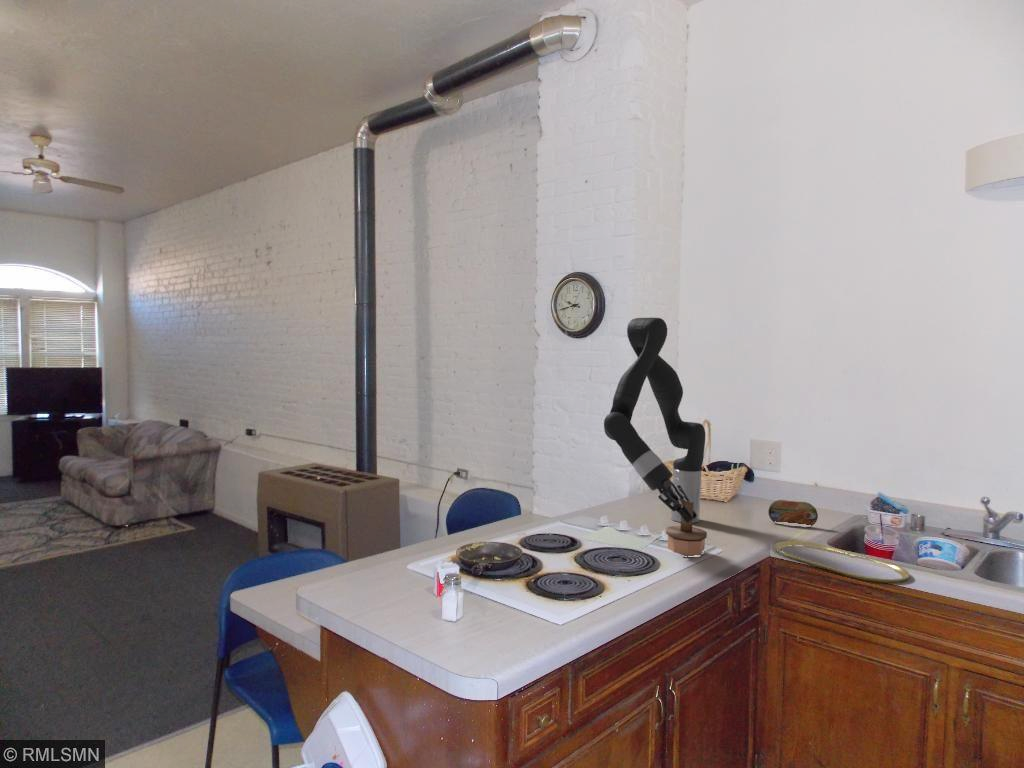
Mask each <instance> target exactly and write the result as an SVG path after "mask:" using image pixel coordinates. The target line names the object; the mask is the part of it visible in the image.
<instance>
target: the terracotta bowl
mask: <svg viewBox="0 0 1024 768" xmlns="http://www.w3.org/2000/svg"><path fill="white" fill-rule="evenodd" d="M705 545H706V538H705V539H702V540H685V539H678V538H674V537H671V536H669V535H667V549H669V550H670V551H672V552H673V553H677V554H682V555H684V556H687V557H688V556H694V555H701V553H702V551H703V550H704V549H705Z"/></svg>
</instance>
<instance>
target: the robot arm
mask: <svg viewBox="0 0 1024 768" xmlns="http://www.w3.org/2000/svg"><path fill="white" fill-rule="evenodd" d="M626 333H627V337H628V338H627V339H628V341H629V344H630V346H631V348H632V350H633V351H634V354H635V355H636V357H637V358H636V360H634V362H633V363H632V364H631V365H630V366H629V367H628V368H627V369H626V371H625V372H624V373H623V374H622V375H621V377H620V379H619V381H618V383H617V387H616V390H615V393H614V396H613V399H612V406H611V409H610V411H609V413H608V414H607V415H606V416H605V418H604V420H603V430H604V434H605V435H606V437H608V438H609V439H610V440H612V441H615V443H616V444H617V445H618V446H619V447H620V450H621V452H622V454H623V455H624V457H625V458H626V459H627V460H628V461H629V463H630V464H631V465H632V467H633V469H634V470H635V472H636V473H637V474H638V476H639V477H640V478H641V479H642V480H643V482H644V483H645V484H646V486H648V488H649V489H650V490H651V491H653V492H654V491H656V490H657V491H658V493H659V495H658V497H657V498H658V499H659V500H660V501H661V502H662V503H664V505H666V506H667V507H668V508H669V509H670V510H671V511H670V512H671V513H670V519H671V520H672V521H675V522H678V523H679V522H680V523H681V516H682V518H683V519H684V520H685V521H686V522H687V523H688V522H690V521H691V520H692V519H693V524H695V523H699V522H700V510H701V491H702V490H701V488H702V487H701V486H702V469H703V468H702V467H703V464H704V463H703V462H704V458H705V445H706V430H705V427H704V425H703V424H702V423H699V422H693V421H683V420H682V418H681V416H680V412H679V407H680V405H681V402H682V399H683V395H684V389H683V385H682V383H681V381H680V378H679V375H678V373H677V372H676V370H675V369H674V368H673V367H672V366H671V365H670V364H669V363H668V361H666V360H665V359H663V358H662V357H661V356H660V352H661V351H662V348H663V346H664V344H665V343H666V340H667V337H668V326H667V323H666V322H665V320H664V319H663V318H660V317H637V318H636V317H635V318H632V319H631V320H629V322H628V324H627V328H626ZM646 379H647V380H648V383H649V386H650V389H651V391H652V393H653V395H654V398H655V400H656V402H657V404H658V407H659V410H660V412H661V415H662V418H663V422H664V426H665V429H666V432H667V435H668V438H669V441H670V443H671V445H672V446H673V447H674V448H677V449H683V450H687V452H686V455H685V456H683V457H680V458H676V459H675V460H674V461H673V465H672V466H673V467H672V469H673V470H672V472H671V470H670V469H669V468H668V466H666V464H665V463H664V462H663V461H662V459H661V458H660V457H659V456H658V455H657V453H655V452H654V451H653V450H652V449H651V448H650V446H648V444H647V443H646V442H645V440H643V438H641V435H639V433H638V432H637V430H636V428H635V427H634V426H633V424H632V422H631V421H632V418H633V415H634V414H633V413H634V410H635V407H636V406H637V403H638V400H639V397H640V394H641V392H642V389H643V386H644V383H645V382H646ZM671 478H672V481H671ZM682 501H690V502H693V503H694V504H693V516H692V515H691V514H690V513H689V512H688V510H687V509H686V508H685V507H684V505H683V504H682Z"/></svg>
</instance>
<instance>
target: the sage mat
mask: <svg viewBox="0 0 1024 768" xmlns="http://www.w3.org/2000/svg"><path fill="white" fill-rule="evenodd" d="M611 527H612V526H608V527H606V526H604V527H602V528H600V529H597V530H596V531H594V532H591V533H590V534H587V535H585V536H583V537H581V538H580V540H585V541H589V542H590V541H591V542H596V543H601V544H606V545H612V546H615V547H616V546H617V547H620V548H621V547H622V548H627V549H631V550H632V549H633V550H635V551H636V550H637V551H641V550H643V549H645V548H646V547H647V546H649V545H650V544H652V543H654V542H655V541H651V540H647V539H641V538H638V537H635V536H631V535H629V534H624V533H620V532H618V531H616V530H614V529H613V528H614V527H613V528H611ZM650 534H651V533H650ZM651 536H652V537H654V538H659V536H660V535H658V534H657V535H656V534H651ZM659 539H660V538H659Z"/></svg>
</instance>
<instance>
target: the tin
mask: <svg viewBox="0 0 1024 768" xmlns="http://www.w3.org/2000/svg"><path fill="white" fill-rule="evenodd" d="M767 512H768V517H769V519H770V520H771V521H772V522H773V523H774V522H775V521H776V522H788V523H798V524H806V525H811V527H812V526H814V525H815V524H816V523H817V522H818V519H819V516H818V511H817V509H816V507H814V505H812V504H811V503H810V502H808V501H807V502H806V501H799V500H798V501H796V500H795V501H794V500H788V499H787V500H785V499H778V500H775V501H773V502H771V504H770V505H769V508H768V511H767Z"/></svg>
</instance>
